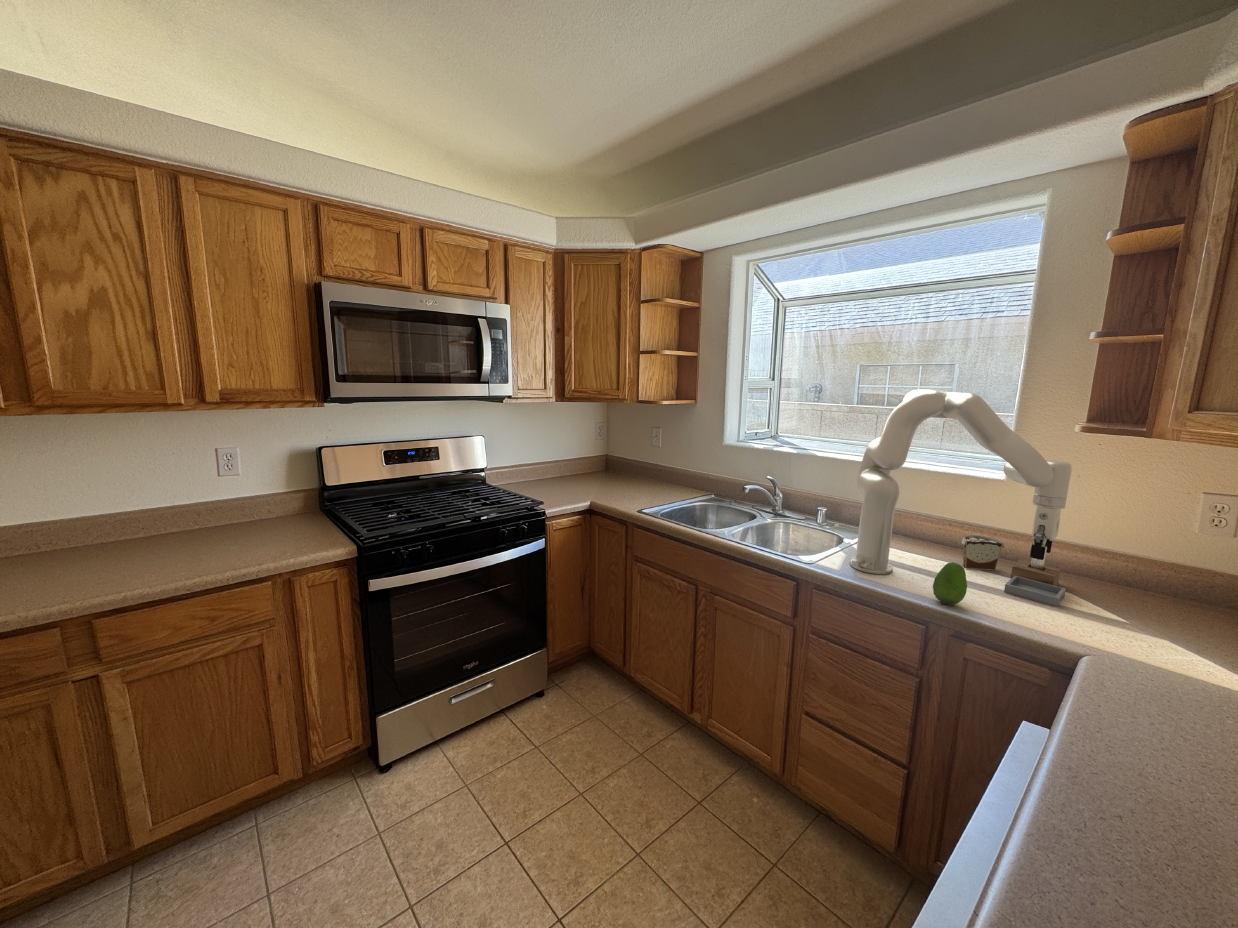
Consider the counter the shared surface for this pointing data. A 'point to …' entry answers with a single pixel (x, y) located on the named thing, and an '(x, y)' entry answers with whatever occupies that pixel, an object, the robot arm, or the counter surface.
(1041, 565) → the pin
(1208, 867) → the counter surface
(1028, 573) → the pin block
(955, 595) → the avocado
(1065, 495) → the robot arm
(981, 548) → the food container
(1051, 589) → the tray
